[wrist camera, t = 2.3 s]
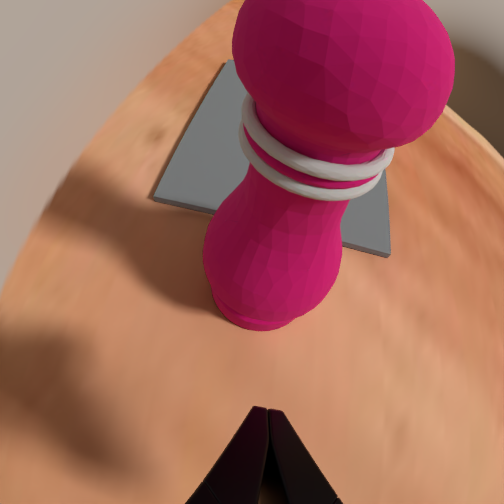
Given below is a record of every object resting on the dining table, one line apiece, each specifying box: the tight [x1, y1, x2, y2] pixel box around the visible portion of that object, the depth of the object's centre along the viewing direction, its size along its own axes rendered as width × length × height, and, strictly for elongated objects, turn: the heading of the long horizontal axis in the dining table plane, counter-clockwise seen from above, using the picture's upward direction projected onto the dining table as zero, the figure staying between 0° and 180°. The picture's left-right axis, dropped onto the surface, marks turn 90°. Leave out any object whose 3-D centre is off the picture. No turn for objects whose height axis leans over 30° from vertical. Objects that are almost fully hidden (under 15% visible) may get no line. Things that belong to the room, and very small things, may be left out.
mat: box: [153, 59, 391, 258], centre depth 28 cm, size 22×18×1 cm
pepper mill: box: [203, 0, 455, 331], centre depth 12 cm, size 7×7×20 cm
